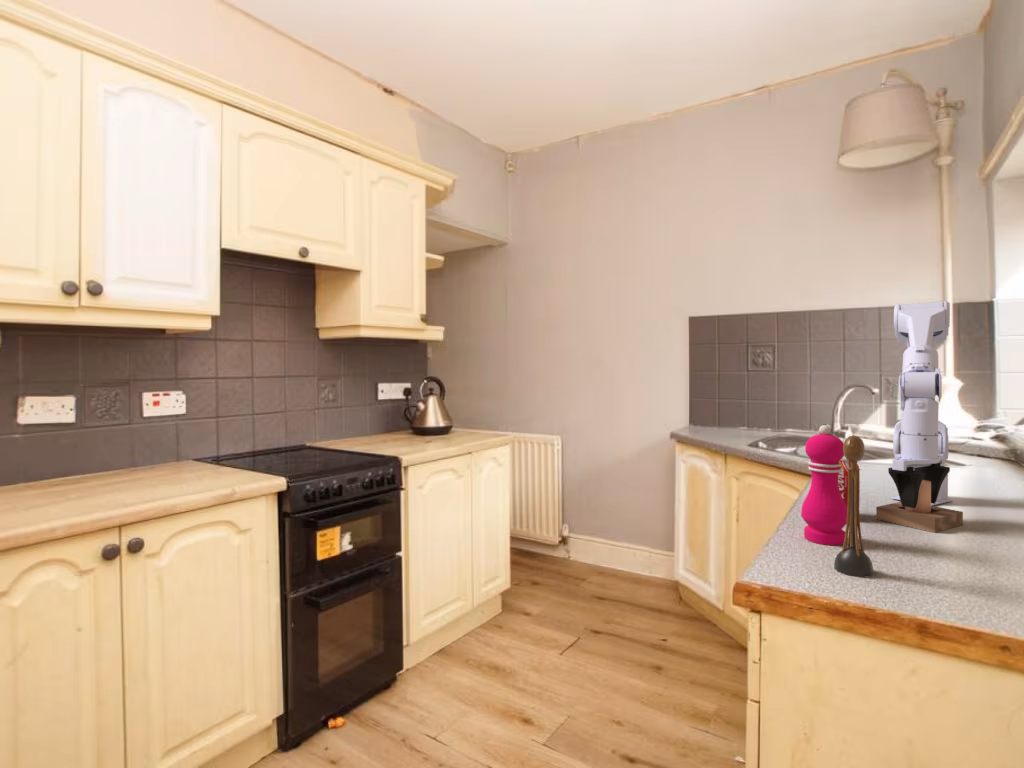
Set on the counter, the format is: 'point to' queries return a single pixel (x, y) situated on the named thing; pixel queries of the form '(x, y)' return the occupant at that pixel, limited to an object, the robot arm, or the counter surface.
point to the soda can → (845, 479)
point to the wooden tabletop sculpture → (853, 517)
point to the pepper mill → (824, 490)
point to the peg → (923, 498)
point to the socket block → (920, 517)
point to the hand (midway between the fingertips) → (918, 504)
